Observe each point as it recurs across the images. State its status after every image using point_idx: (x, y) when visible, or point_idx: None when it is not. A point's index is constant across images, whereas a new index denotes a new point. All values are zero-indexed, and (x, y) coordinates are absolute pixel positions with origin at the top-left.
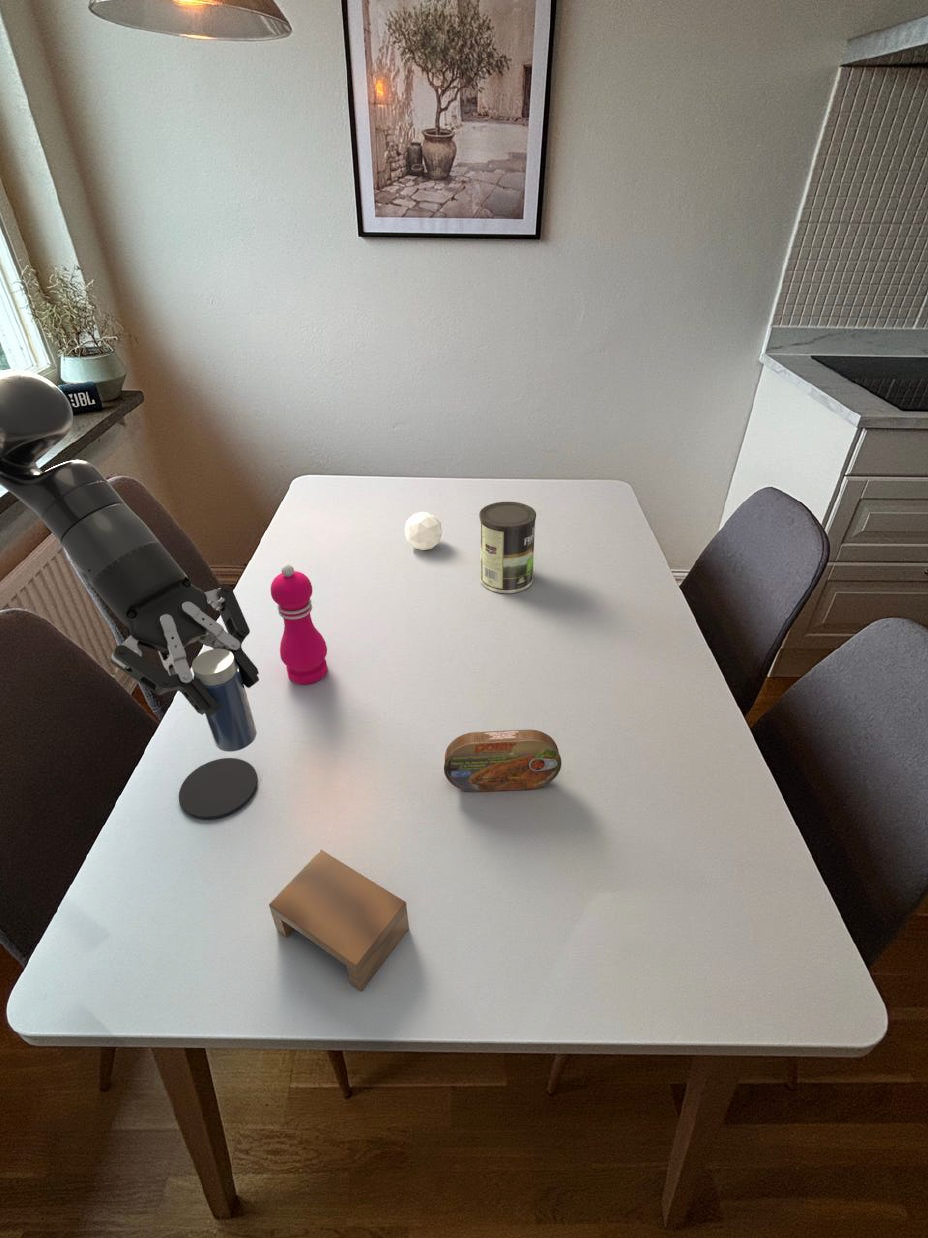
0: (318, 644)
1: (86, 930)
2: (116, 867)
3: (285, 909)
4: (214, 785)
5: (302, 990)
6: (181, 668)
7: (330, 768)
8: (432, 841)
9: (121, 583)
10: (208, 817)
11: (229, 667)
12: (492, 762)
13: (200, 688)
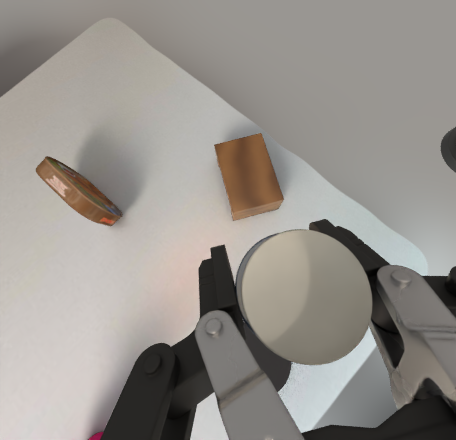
0: None
1: None
2: None
3: (276, 189)
4: (258, 362)
5: (282, 170)
6: (424, 302)
7: (173, 305)
8: (166, 195)
9: None
10: None
11: (275, 235)
12: (87, 192)
13: (352, 250)
